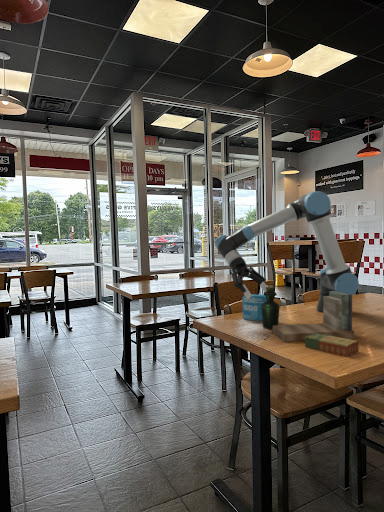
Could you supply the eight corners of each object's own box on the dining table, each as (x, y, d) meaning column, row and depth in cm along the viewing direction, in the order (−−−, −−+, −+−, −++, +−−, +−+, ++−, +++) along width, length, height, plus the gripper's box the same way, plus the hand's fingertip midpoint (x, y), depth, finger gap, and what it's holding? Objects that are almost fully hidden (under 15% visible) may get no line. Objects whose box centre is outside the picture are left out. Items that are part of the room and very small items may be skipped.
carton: (347, 358, 118) (347, 345, 118) (304, 347, 130) (304, 336, 130) (358, 352, 124) (358, 340, 123) (316, 343, 136) (316, 331, 136)
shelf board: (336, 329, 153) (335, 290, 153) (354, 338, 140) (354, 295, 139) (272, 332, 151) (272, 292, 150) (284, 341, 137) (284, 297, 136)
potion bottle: (268, 330, 154) (268, 288, 154) (257, 326, 162) (257, 286, 161) (283, 328, 158) (283, 287, 157) (272, 324, 165) (271, 285, 164)
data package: (242, 319, 177) (242, 295, 176) (245, 317, 181) (244, 294, 181) (266, 321, 172) (266, 296, 171) (268, 319, 176) (268, 295, 175)
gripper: (248, 265, 184) (272, 297, 173) (213, 268, 168) (236, 304, 157) (256, 255, 179) (281, 287, 168) (220, 257, 163) (245, 293, 152)
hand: (260, 295), depth 163 cm, fingers open, 13 cm apart
